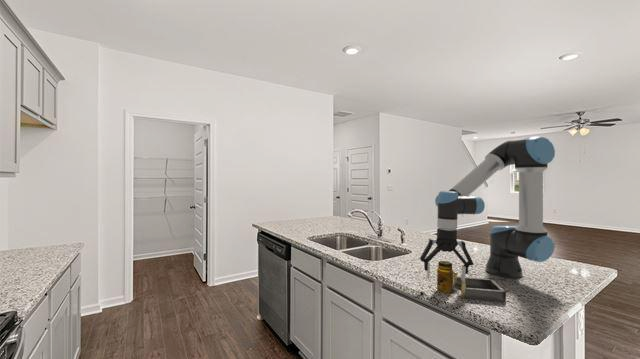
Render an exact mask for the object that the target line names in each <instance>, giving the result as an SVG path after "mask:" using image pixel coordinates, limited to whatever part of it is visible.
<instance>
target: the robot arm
mask: <svg viewBox="0 0 640 359" xmlns="http://www.w3.org/2000/svg"><path fill="white" fill-rule="evenodd" d="M555 156H556V149H555V146H554V144H553V143H552V142H551V141H550V139H549V138H547V137H544V136H531V137H524V138H518V139H517V138H515V139H510V140H507V141H505V142H502V143H501V144H500V145H498V146H496V147H495V148H494V149H492V150H491V151H490V152H488V154H486V155H485V156H484V160H483V161H481V162H480V163H479V164H478V165H476V167H475V168H474V169H472V170H471V171H470V172H468V173H467V175H465V176H464V177H463V178H462V179H461V180H460V181H458V182H457V183H456V184H455V185H454V186H452V187H451V188H450V189H449V190H443V191H442V190H441V191H439V192H438V194H437V195H436V197H435V199H434V200H435V201H434V202H435V205H436V207H437V221H436V222H437V223H436V225H437V226H436V227H437V229H436V239H431V238H428V242H427V245H426V247H425V249H424V250H423V252H422V253H421V255H420V257H419V260H420V262H422V263H423V264H424V266H423V267H424V268H423V269H424V271H426V279H427V280H430V278H431V276H430V274H431V263H430V261H431V260H432V259H433V258H434V257H435V256H436V255H438V253H440V252H444V253H445V252H448V253H451V252H454V254H455V255H456V256H457V257H458V259H459V260H460V261H461V262H462V263H463V264H461V272H460V273H461V276H460V277H461V281H462V282H465V277H466V275H468V274H469V267H470V266H474V262H473V260H472V257H471V256H470V254H469V251H468V250H467V248H466V242H465V241H464V240H460V241H458V240H457V239H458V230H457V229H458V217H459V216H458V215H473V216H474V215H479V214H482V213H483V212H484V210H485V206H486V205H485V204H486V203H485V201H484V199H483V198H482V197H480V196H474V195H472V196H470V195H471V194H473V193H474V192H475V191H476V190H477V189H478V188H479V187H481V186H482V185H483V184H484V183H485V182H487V180H489V179H490V178H491V177H492V176H493V175H494V174H496V173H497V172H498V171H502V170H504V169H505V168H506V167H508V166H511V165H512V166H513V165H514V169H515V170H516V171H517V172H518V225H517V226H515V225H495V226H492V227H491V228H490V233H489V236H490V238H489V240H490V244H489V246H490V247H489V256H488V260H487V262H486V263H485V271H486V272H488V273H490V274H492V275H495V276H498V277H504V278H511V279H513V278H514V279H517V278H521V277H523V269H522V266H521V264H520V261H519V260H520V259H519V257H520V258H522V259H527V260H528V261H531V262H537V263H542V262H546V261H547V260H549V259H550V257H552V256H553V254H554V252H555V248H556V247H555V241H554V240H553V239H552V237H550V236H548V230H547V229H546V228H545V227H544V171H545V170H546V169H548V164H550V163H551V162H552V161H553V160H554V158H555ZM435 244H436V247H435V248H434V249H433V250H432V251H431V249H432V246H434V245H435ZM457 246H459V247H460V248H461V250H462V253H463V254H464V256H465V258H466V260H467V261H466V260H465V258H464V257H463V256H462V255H461V254H460V253H459V251H458V250H457V249H456V248H457ZM430 251H431V252H430ZM429 252H430V253H429ZM428 253H429V254H428Z"/></svg>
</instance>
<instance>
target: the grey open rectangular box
mask: <svg viewBox="0 0 640 359" xmlns="http://www.w3.org/2000/svg"><path fill="white" fill-rule="evenodd" d="M454 287H455V288H460V299H462V300H473V301H481V302H482V301H483V302H484V301H485V302H496V303H507V291H505V290H504V288H502V287H501V286H500V285H499V284H498V283H497V282H496V281H495V280H494V279H492V278H479V277H468V276H465V282H462V281H461V276H458V272H457V271H453V288H454Z"/></svg>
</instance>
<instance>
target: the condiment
mask: <svg viewBox="0 0 640 359" xmlns="http://www.w3.org/2000/svg"><path fill="white" fill-rule="evenodd" d="M436 270H437V271H436V273H437V274H436V275H437V276H436V282H437V283H436V289H437V291H438V292H436V291H435V290H433V292H435V293H439V292H440V293H439V294H442V293H443V294H442V295H447V296H450V297H454V295H455V294H456V292H458V290H459V289H457V288H454V286H453V272H454V270H453V263H452V262H450V261H447V260H440V261H438V266H437V269H436Z"/></svg>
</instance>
